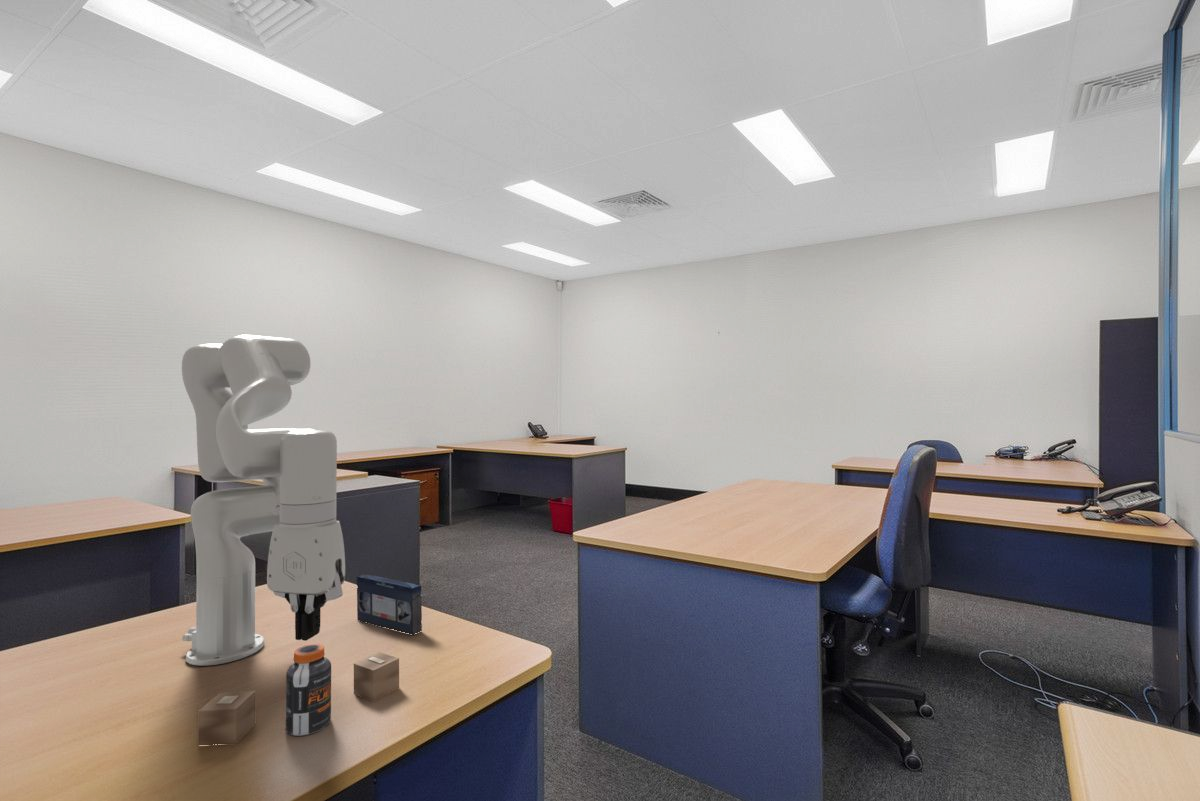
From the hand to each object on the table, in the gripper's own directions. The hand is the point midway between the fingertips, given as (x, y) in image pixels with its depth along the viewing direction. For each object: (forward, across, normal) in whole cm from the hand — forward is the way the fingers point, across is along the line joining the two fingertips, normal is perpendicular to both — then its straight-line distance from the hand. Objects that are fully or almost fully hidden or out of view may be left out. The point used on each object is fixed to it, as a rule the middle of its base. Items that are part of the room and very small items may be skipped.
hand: (307, 636), depth 82 cm
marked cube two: (+13, +4, +11) cm, 18 cm away
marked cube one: (+13, -10, -4) cm, 17 cm away
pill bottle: (+13, 0, 0) cm, 13 cm away
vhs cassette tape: (+14, -9, +37) cm, 40 cm away
